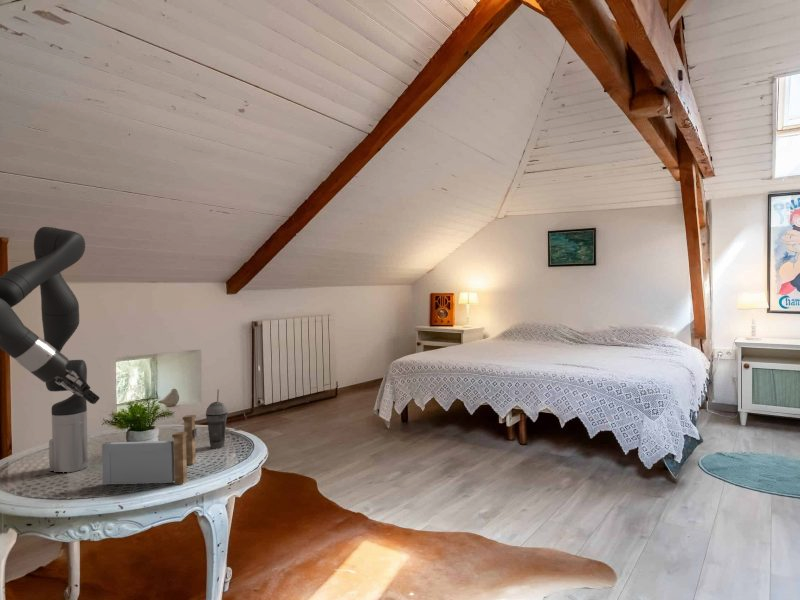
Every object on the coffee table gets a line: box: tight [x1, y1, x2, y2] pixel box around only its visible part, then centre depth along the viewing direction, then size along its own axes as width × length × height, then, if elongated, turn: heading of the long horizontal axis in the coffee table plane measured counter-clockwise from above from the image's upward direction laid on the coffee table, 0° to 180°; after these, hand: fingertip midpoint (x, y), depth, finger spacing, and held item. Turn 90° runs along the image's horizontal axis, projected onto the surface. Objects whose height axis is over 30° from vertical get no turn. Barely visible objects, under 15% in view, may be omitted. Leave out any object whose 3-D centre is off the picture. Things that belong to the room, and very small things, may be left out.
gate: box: [101, 440, 175, 485], centre depth 149 cm, size 19×2×11 cm, turn 91°
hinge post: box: [171, 431, 188, 485], centre depth 149 cm, size 3×3×14 cm
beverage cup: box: [205, 389, 229, 450], centre depth 186 cm, size 7×7×20 cm
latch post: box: [182, 414, 198, 466], centre depth 167 cm, size 3×3×15 cm
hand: (95, 400), depth 142 cm, fingers closed
